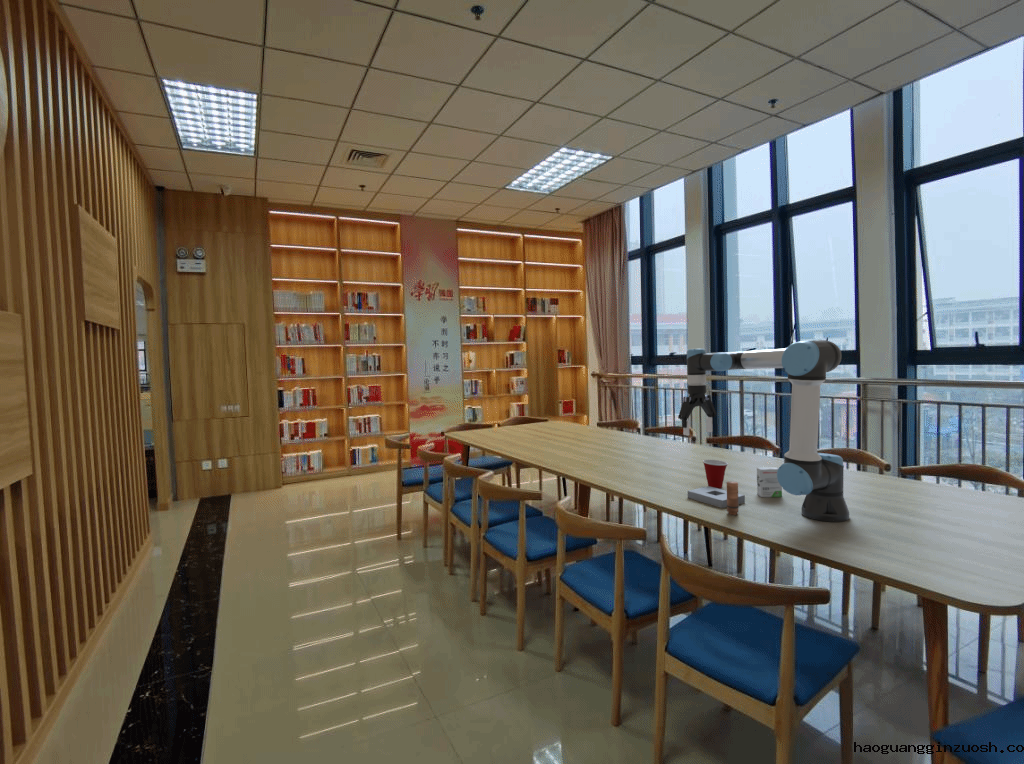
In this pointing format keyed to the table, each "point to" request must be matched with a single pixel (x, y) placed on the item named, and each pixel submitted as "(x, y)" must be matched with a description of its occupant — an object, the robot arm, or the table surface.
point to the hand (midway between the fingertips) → (698, 433)
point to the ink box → (768, 482)
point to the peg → (732, 497)
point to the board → (712, 496)
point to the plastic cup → (715, 472)
